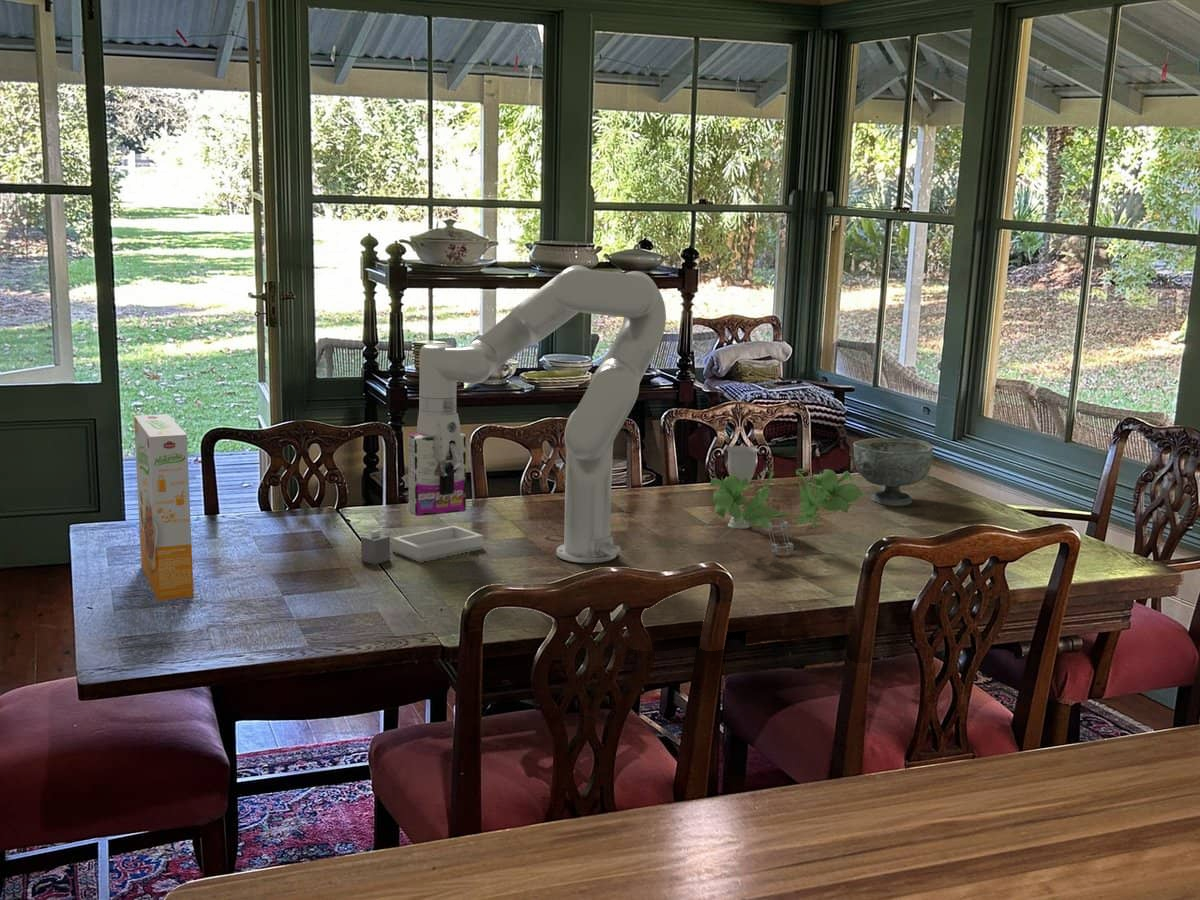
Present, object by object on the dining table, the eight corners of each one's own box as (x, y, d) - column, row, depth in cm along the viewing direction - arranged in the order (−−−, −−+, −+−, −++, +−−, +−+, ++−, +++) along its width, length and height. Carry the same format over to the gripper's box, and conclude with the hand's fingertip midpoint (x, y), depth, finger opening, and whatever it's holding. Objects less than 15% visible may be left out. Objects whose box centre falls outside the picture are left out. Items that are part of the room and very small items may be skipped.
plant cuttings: (689, 579, 264) (726, 541, 244) (673, 506, 270) (708, 463, 251) (832, 567, 275) (879, 530, 256) (814, 498, 282) (858, 456, 263)
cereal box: (141, 566, 240) (133, 415, 234) (174, 562, 243) (168, 413, 237) (157, 600, 220) (149, 436, 214) (193, 596, 223) (186, 434, 217)
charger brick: (389, 560, 249) (389, 530, 247) (375, 564, 245) (374, 534, 244) (376, 556, 251) (375, 527, 250) (361, 560, 248) (361, 531, 246)
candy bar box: (457, 506, 259) (458, 430, 256) (466, 512, 255) (467, 434, 252) (406, 511, 254) (407, 433, 251) (415, 516, 250) (415, 438, 246)
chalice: (719, 527, 281) (722, 450, 277) (727, 520, 287) (731, 444, 283) (750, 531, 278) (754, 453, 274) (758, 524, 284) (762, 448, 280)
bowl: (847, 490, 321) (851, 433, 318) (923, 494, 318) (928, 437, 315) (852, 508, 301) (856, 448, 298) (933, 513, 299) (938, 452, 296)
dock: (483, 549, 258) (483, 535, 257) (420, 562, 247) (420, 548, 247) (454, 538, 265) (454, 525, 264) (392, 551, 254) (392, 537, 254)
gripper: (478, 409, 246) (477, 496, 250) (428, 397, 259) (427, 480, 262) (448, 412, 241) (447, 501, 245) (398, 400, 254) (398, 485, 257)
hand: (437, 490), depth 254 cm, fingers closed on candy bar box, 5 cm apart
